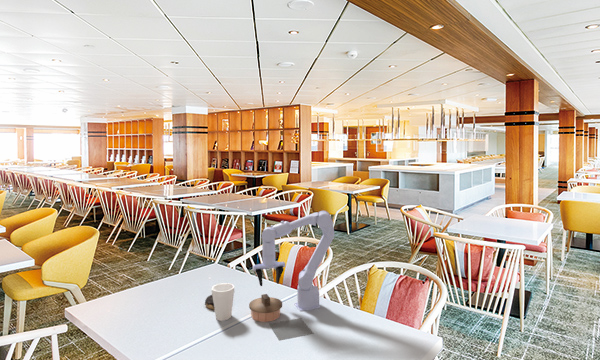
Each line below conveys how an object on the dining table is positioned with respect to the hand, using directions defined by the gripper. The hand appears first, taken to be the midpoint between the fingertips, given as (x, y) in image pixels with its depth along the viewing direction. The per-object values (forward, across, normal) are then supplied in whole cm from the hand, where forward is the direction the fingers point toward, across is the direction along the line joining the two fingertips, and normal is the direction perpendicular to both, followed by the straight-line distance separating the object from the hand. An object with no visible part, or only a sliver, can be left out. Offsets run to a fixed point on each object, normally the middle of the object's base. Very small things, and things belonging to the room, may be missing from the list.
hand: (269, 284), depth 167 cm
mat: (+10, +2, -23) cm, 25 cm away
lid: (+6, -4, -8) cm, 11 cm away
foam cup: (+11, -21, -3) cm, 24 cm away
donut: (+11, -22, +11) cm, 26 cm away
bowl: (+10, -4, -8) cm, 14 cm away
